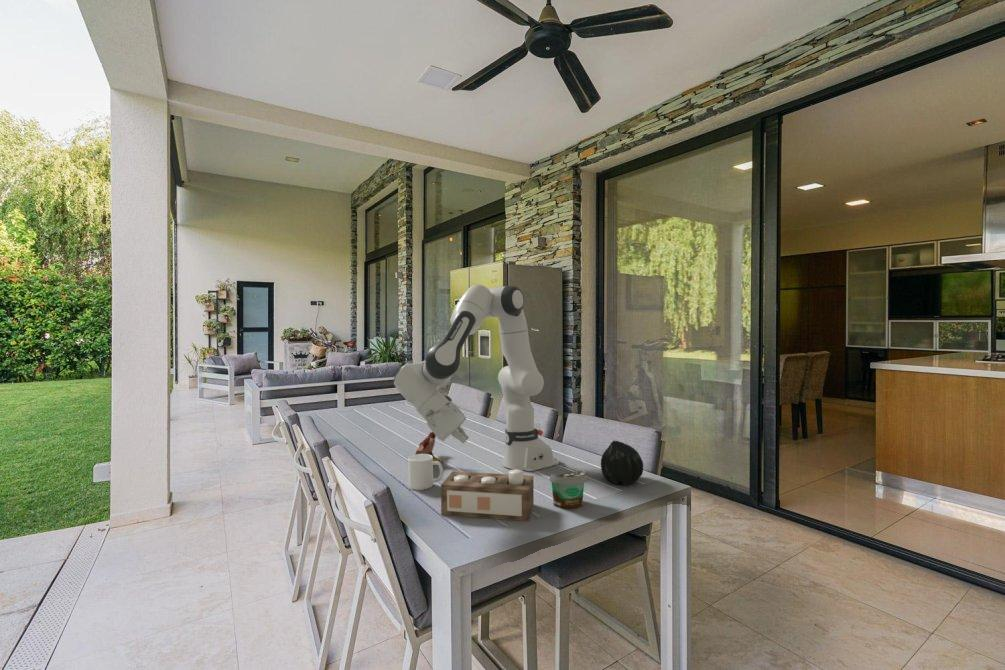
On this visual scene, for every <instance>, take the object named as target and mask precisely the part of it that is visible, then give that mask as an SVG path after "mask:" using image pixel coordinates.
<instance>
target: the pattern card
mask: <svg viewBox="0 0 1005 670" xmlns="http://www.w3.org/2000/svg"><path fill="white" fill-rule="evenodd" d="M447 511H455V512H469V513H483V514H498V515H512V516H522V495H517V494H501V493H486V492H470V491H454V490H447Z"/></svg>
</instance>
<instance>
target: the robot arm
mask: <svg viewBox="0 0 1005 670" xmlns="http://www.w3.org/2000/svg"><path fill="white" fill-rule="evenodd" d="M524 305H525V297H524V293H523V292H522V290H521V288H519V287H518V286H516V285H506V286H493V287H491V288H488V287H487V286H485V285H483V284H480V283H479V284H473V285H471V286H470V287H469V288H468V289H467V290H466V291H465V292H464V293H463V294H462V296H461V297H460V298H459V300H458V301H457V303H456V304H455V307H454V308H453V311H452V312H451V316H450V319H449V322H450V328H449V329H448V331H447V332H446V333H445V335H444V337H443V338H442V340H440V342H438V343H437V344H435V345H434V346H433V347H431V348H430V349H429V350H428V352H427V353H426V357H425V360H423V361H420V362H413V363H405V364H403V365H402V366H400V368H399V369H398V371H397V372H396V374H395V376H394V378H393V385H394V387H395V388H396V390H398V392H399V393H400V395H402V396H403V398H404V399H405V400H406V401H407V402H408V403H410V404H411V405H413V406H414V409H415V410H416V411H417V412H418V414H419V415H420V417H422V418H423V419H424V420H425V421H426V425H427V426H428V428H429V429H430V430H431V432H433V433H434V434H435V435H436V437H437V439H439V440H440V441H442V442H444V441H445V440H446V439H447V438H448V437H450V435H451V436H452V437H453V438H455V439H456V440H458V441H460V443H461V444H464V443H466V442H467V441H468V439H469V435H467V434H466V432H465V430H464V428H463V427H462V425H463V424H464V423H465V422H466V421H467V417H466V415H465V414H464V413H463V412H462V410H461V409H460V408H459V406H457V405H456V404H455V403H454V402H453V399H452V398H451V397H450V396H449V395H444V394H442V393H441V392H440V391H439V390H440V389H441V388H443V387H445V386H446V385H447V384H448V383H449V381H450V380H451V378H452V377H453V375H454V374H455V373H456V372H457V370H458V369H459V367H460V363H461V352H462V351H461V350H462V349H463V346H464V344H465V343H466V341H467V339H468V337H469V336H472V335H474V334H475V333H476V332H477V331H478V330H479V328H480V327H481V326H482V324H483V323H484V321H485V320H486V318H498V331H499V338H500V347H501V353H502V355H503V357H504V358H505V360H506V363H507V365H506V366H503V367H502V368H501V369H500V371H499V372H498V375H497V381H498V383H499V386H500V388H501V391H502V395H503V396H502V397H503V401H504V406H505V422H506V423H505V426H506V427H505V429H504V432H505V433H504V441H505V450H504V455H503V456H504V457H503V460H502V464H501V465H502V466H503V467H504V468H506V469H507V468H508V469H510V470H514V469H518V470H522V471H527V472H533V471H537V470H541V469H545V468H549V467H553V465H554V466H558V465H560V463H559V459H558V458H556V457H555V456H554V455H553V449H552V447H551V446H550V444H549V443H546V442H545V441H544V440H543V439H541V438H540V437H539V436H543V435H544V432H543V430H541V429H537V428H535V409H534V406H533V405H532V402H531V398H530V397H533V396H536V395H538V394H540V393H541V392H542V391H543V388H544V383H545V382H544V381H545V380H544V377H543V375H542V374H541V372H539V370H538V367H537V364H536V362H535V359H534V356H533V353H532V350H531V345H530V337H529V329H528V323H527V319H526V315H525V312H524V309H523V308H524Z"/></svg>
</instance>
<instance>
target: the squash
mask: <svg viewBox="0 0 1005 670" xmlns="http://www.w3.org/2000/svg"><path fill="white" fill-rule="evenodd" d="M600 470H601V473H602V475H603V477H604V478H605V479H606V480H608V481H609V482H610V483H611V482H613V484H615V485H620V484H622V485H624V486H625V485H626V486H627V485H628V486H629V484H631V483H634V482H635V483H636V482H637V481H638V480H639V479H640V478H641V476H643V472H644V462H643V460H642V457H641V454H639V452H638V451H637V450H636V449H635V448H634V447H632V446H630V445H629V444H626V443H624V442H622V441H619V440H612V442H610V444H609V446H608V447H607V448H606V449H605V451H604V452H603V454H602V456H601V459H600Z"/></svg>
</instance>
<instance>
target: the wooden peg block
mask: <svg viewBox="0 0 1005 670" xmlns="http://www.w3.org/2000/svg"><path fill="white" fill-rule="evenodd" d="M458 475H466V476H468V482H459V481H454V477H455V476H458ZM523 475H524V485H510V484H509V473H508V474H506V473H493V472H492V473H490V472H489V473H488V472H472V471H456V470H455V471H454V470H453V471H452V472H450V474H449V475H448V476H446V478H445V479H444V480H443V482H442V483H441V484H440V508H441V509H440V510H441V512H440V513H441V516H453V517H455V516H456V517H468V518H482V519H495V520H497V519H498V520H508V521H510V520H511V521H522V522H530V518H531V514H532V511H533V507H534V491H535V489H534V486H535V485H534V475H528V474H527V475H526V474H523ZM483 477H494V478H496V483H495V484H493V483H481V478H483ZM447 490H454V491H470V492H486V493H501V494H517V495H522V516H512V515H498V514H483V513H469V512H455V511H447Z"/></svg>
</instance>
